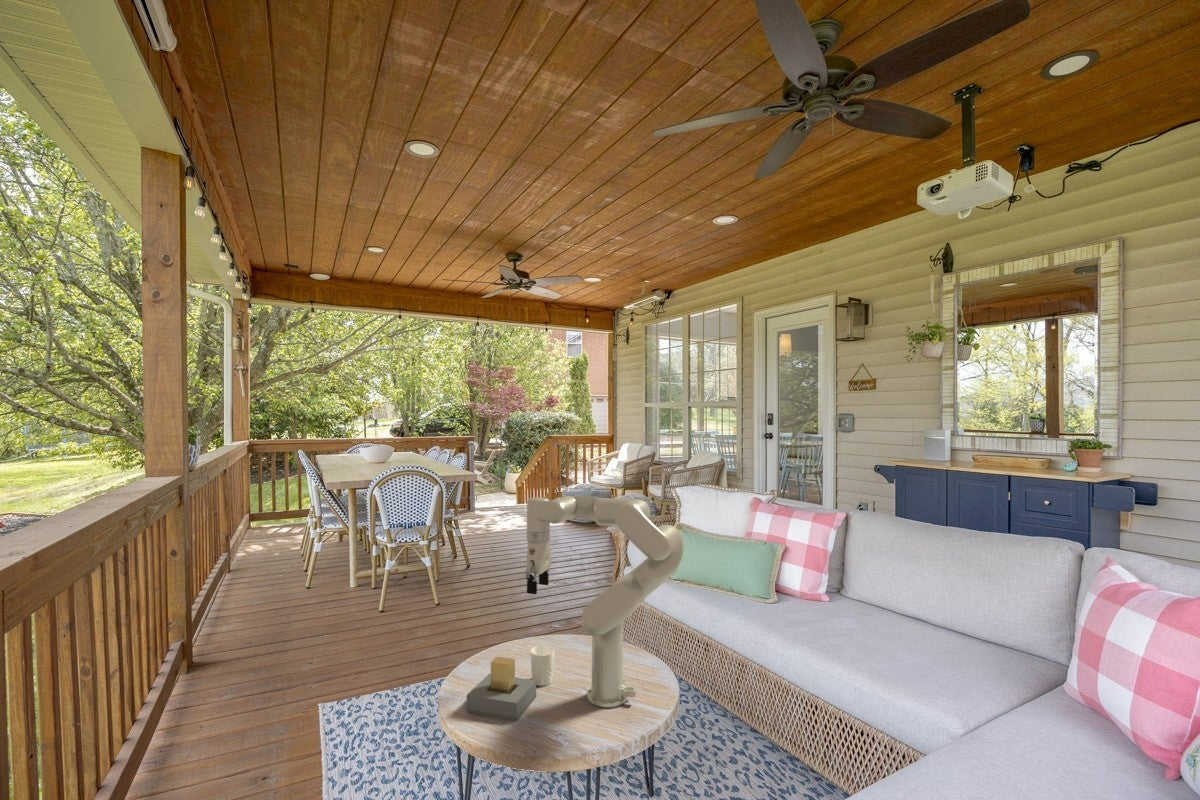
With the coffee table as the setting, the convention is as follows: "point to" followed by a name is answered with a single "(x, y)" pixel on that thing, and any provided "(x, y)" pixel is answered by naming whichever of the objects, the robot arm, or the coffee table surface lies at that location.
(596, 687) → the robot arm
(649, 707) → the coffee table surface
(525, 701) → the well block
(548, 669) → the white cup
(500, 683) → the tall yellow pillar
